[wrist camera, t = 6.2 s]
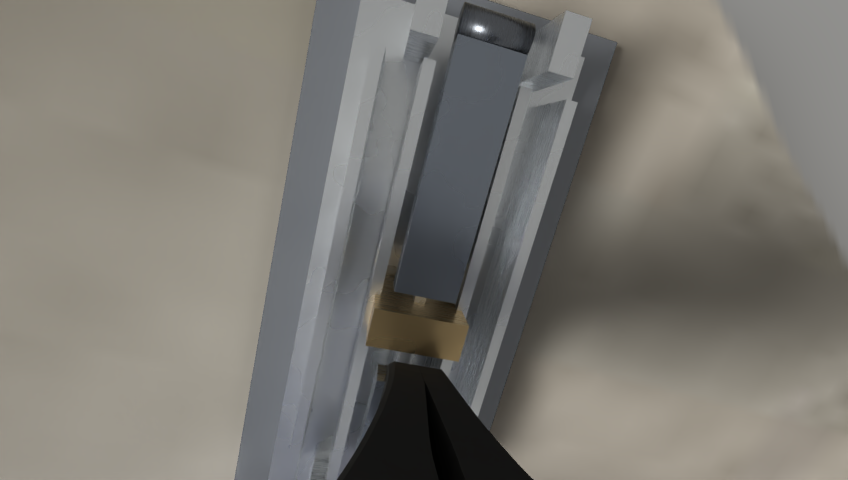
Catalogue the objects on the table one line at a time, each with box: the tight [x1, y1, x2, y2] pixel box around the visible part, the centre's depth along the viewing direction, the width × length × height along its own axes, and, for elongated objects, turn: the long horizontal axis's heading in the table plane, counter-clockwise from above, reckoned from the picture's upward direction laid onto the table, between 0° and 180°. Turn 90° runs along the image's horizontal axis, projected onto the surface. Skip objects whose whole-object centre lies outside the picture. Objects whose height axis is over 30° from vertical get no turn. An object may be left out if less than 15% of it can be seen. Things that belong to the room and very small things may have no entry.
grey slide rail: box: [268, 0, 592, 480], centre depth 11 cm, size 16×6×4 cm, turn 166°
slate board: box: [234, 0, 617, 480], centre depth 14 cm, size 18×9×1 cm, turn 166°
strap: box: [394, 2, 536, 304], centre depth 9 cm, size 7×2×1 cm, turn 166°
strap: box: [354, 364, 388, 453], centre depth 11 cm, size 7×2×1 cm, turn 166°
